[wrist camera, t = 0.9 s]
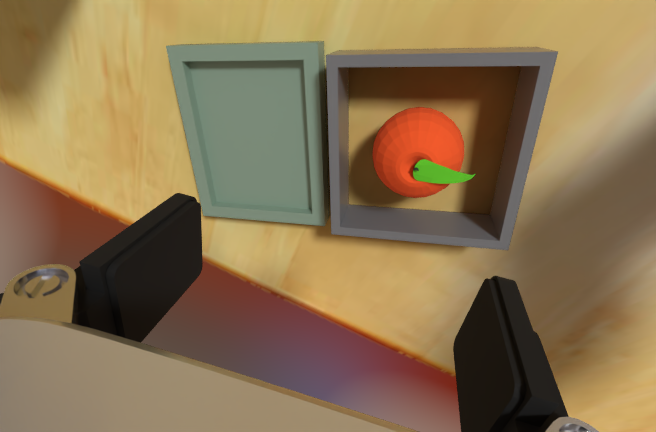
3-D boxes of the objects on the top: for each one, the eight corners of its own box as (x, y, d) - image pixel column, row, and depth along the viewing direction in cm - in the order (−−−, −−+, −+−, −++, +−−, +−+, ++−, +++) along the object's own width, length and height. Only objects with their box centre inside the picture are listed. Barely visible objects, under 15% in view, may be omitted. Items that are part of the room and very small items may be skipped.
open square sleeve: (537, 47, 26) (558, 51, 22) (497, 223, 33) (508, 250, 29) (338, 50, 29) (326, 55, 25) (340, 211, 36) (331, 234, 32)
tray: (323, 41, 29) (317, 42, 27) (329, 216, 36) (324, 226, 35) (179, 44, 31) (165, 45, 30) (213, 207, 39) (203, 215, 37)
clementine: (486, 114, 29) (504, 139, 23) (454, 189, 32) (462, 229, 26) (389, 89, 29) (381, 108, 23) (368, 166, 33) (356, 199, 27)
